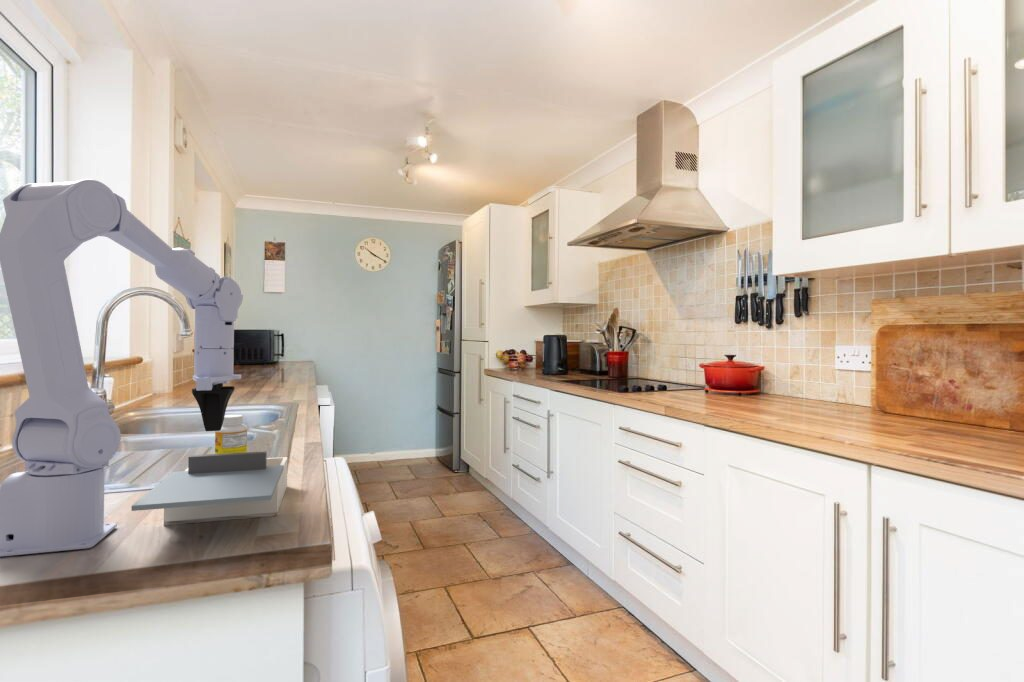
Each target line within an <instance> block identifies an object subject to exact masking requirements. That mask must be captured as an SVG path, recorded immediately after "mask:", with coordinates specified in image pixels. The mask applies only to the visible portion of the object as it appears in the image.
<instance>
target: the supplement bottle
mask: <svg viewBox="0 0 1024 682" xmlns="http://www.w3.org/2000/svg"><path fill="white" fill-rule="evenodd" d="M243 417H244V416H243V415H242V414H225V416H224V421H223V425H222V428H221V430H220V431H214V439H215V440H214V454H227V453H246V452H248V426H247V425H246V424H244V422H243V421H244V418H243Z"/></svg>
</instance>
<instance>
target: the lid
mask: <svg viewBox="0 0 1024 682" xmlns="http://www.w3.org/2000/svg"><path fill="white" fill-rule="evenodd" d="M267 454H268V453H267V451H252V452H251V451H250V452H249V451H247V452H246V453H227V454H215V453H212V454H211V453H210V454H195V455H194V454H191V455H189V456H188V457H187V458H188V462H187V463H188V464H187V465H188V466H187V468H188V471H185V470H182V471H181V470H178V471H173V472H172V473H170V474H169V475H168V476H167V477H165V478H164V479H163V480H161V482H159V483H158V484H157V485H155V486H154V487H153V488H152V489H151V490H149V491H148V492H147V493H145V495H143V496H142V497H140V499H138V500H137V501H136V502H135V503H133V504H131V511H132V512H136V511H147V510H148V511H149V510H150V511H151V510H159V509H161V510H162V509H163V510H164V508H176V507H189V506H202V505H214V504H227V503H240V502H253V501H266V500H271V499H272V496H273V494H274V491H275V489H276V486H277V484H278V482H279V479H280V477H281V474H282V472H283V469H284V465H277V466H267V458H268V457H267Z"/></svg>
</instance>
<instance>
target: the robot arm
mask: <svg viewBox="0 0 1024 682" xmlns="http://www.w3.org/2000/svg"><path fill="white" fill-rule="evenodd" d="M2 202H3V207H4V212H5V217H4V220H3V222H2V223H3V224H2V226H1V229H0V268H1V272H2V277H3V282H4V286H5V291H6V295H7V301H8V305H9V309H10V313H11V318H12V323H13V328H14V331H15V337H16V341H17V345H18V350H19V351H18V352H19V356H20V359H21V363H22V369H23V373H24V378H25V382H26V386H27V390H28V398H27V399H25V400H24V402H23V403H21V404H20V405H19V406H18V407H17V408H16V410H15V411H14V417H15V430H14V432H13V435H12V440H11V445H12V450H13V453H14V454H15V455H16V457H17V458H18V459H19V460H21V461H22V462H24V471H17V472H13V473H11V474H9V475H8V476H7V477H6V478H5V479H4V480H3V481H2V483H1V486H0V557H9V556H10V557H11V556H20V555H31V554H41V553H52V552H61V551H72V550H74V551H75V550H81V549H82V550H83V549H91V548H93V547H94V546H95V545H97V544H98V543H99V542H100V541H101V540H103V539H104V538H105V537H106V536H107V535H108V534H110V533H111V532H112V531H113V530H114V529H116V528H117V526H118V524H117V523H116V522H112V523H105V468H107V467H109V466H110V465H109V461H110V460H112V458H113V457H114V456H115V454H116V453H117V451H118V450H119V448H120V443H121V439H122V435H121V430H120V428H119V425H118V424H117V422H116V421H115V420H114V419H113V418H112V416H111V413H110V412H109V406H108V403H107V402H106V401H105V400H104V399H103V398H102V397H100V396H99V395H98V394H97V393H96V392H94V390H92V389H91V388H90V387H89V383H88V382H89V381H88V378H87V373H86V367H85V362H84V358H83V352H82V348H81V347H82V346H81V342H80V337H79V336H80V335H79V331H78V327H77V322H76V317H75V312H74V306H73V301H72V297H71V291H70V287H69V286H70V285H69V281H68V276H67V275H68V274H67V272H66V266H65V260H66V259H67V258H68V257H70V255H71V254H73V252H74V251H76V250H77V249H78V248H79V247H80V246H81V245H82V244H84V243H86V242H88V241H91V240H92V239H95V238H97V237H103V238H104V237H106V238H107V239H110V240H111V241H113V242H115V243H116V244H118V245H119V246H121V247H122V248H125V249H126V250H128V251H130V252H131V253H133V254H135V255H136V256H138V257H140V258H142V259H143V260H144V261H146V262H148V263H149V264H151V265H153V266H154V272H155V276H157V277H156V278H158V279H160V280H161V281H163V282H164V283H166V284H167V285H169V286H170V287H172V288H173V289H174V290H176V291H177V292H179V293H180V294H181V295H182V296H184V297H185V300H186V302H187V305H188V306H189V308H190V309H193V310H194V348H193V349H194V355H193V356H194V359H193V362H194V363H193V375H192V381H194V382H195V383H196V384H195V387H194V388H192V389H191V393H192V396H193V397H194V398H195V401H196V402H197V405H198V408H199V410H200V413H201V418H202V423H203V427H204V431H205V432H215V431H220V430H221V428H222V425H223V421H224V416H225V415H226V412H227V411H226V410H227V407H228V404H229V402H230V399H231V396H232V395H233V393H234V391H235V390H236V389H235V386H234V385H233V386H231V385H228V384H229V383H230V381H234V380H241V379H242V374H234V365H235V364H234V363H235V361H234V360H235V359H234V358H235V357H234V356H235V355H234V349H235V322H236V321H237V319H238V315H239V314H238V311H239V309H240V307H241V305H242V304H243V299H244V295H243V294H242V291H241V287H240V285H239V284H238V282H236V281H235V280H234V279H233V278H232V277H229V276H221V275H220V274H219V273H217V272H216V269H214V268H213V267H210V266H208V265H207V264H205V262H203V261H202V260H201V259H199V258H198V257H196V253H195V252H194V251H193V250H191V248H183V247H175V248H173V247H171V246H170V245H168V244H167V242H165V241H164V240H163V239H162V238H161V237H160V236H158V235H157V234H156V233H155V232H154V231H153V230H152V229H150V228H149V227H148V226H147V225H146V224H144V223H143V222H142V221H141V220H140V219H138V217H136V216H135V214H134V213H132V212H131V211H130V210H129V209H128V208H127V203H126V200H125V199H124V198H123V197H122V196H121V195H119V194H117V193H115V192H114V191H112V190H111V188H110V187H109V186H107V185H106V184H105V183H103V182H102V181H100V180H96V179H91V178H89V179H88V178H85V179H79V180H76V181H74V180H73V181H63V182H48V183H40V182H39V183H37V182H32V183H25V184H23V185H21V186H19V187H18V188H15V190H13V191H12V192H11V193H9V194H8V195H7V196H5V197H4V198H3V199H2Z"/></svg>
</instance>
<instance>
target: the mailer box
mask: <svg viewBox="0 0 1024 682" xmlns="http://www.w3.org/2000/svg"><path fill="white" fill-rule="evenodd" d="M277 465H284V469H283V472H282V474H281V477H280V479H279V482H278V484H277V486H276V489H275V491H274V494H273V496H272V499H271V500H266V501H253V502H240V503H227V504H214V505H202V506H189V507H176V508H163V526H170V525H171V526H173V525H174V526H175V525H185V524H195V523H209V522H217V521H218V522H220V521H229V520H230V521H231V520H241V519H253V518H264V517H277V516H278V514H279V511H280V508H281V505H282V502H283V499H284V497H285V494H286V490H287V488H288V457H287V456H285V457H284V456H283V457H281V456H280V457H267V466H277ZM184 471H188V467H187V468H186V469H185V470H184Z"/></svg>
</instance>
